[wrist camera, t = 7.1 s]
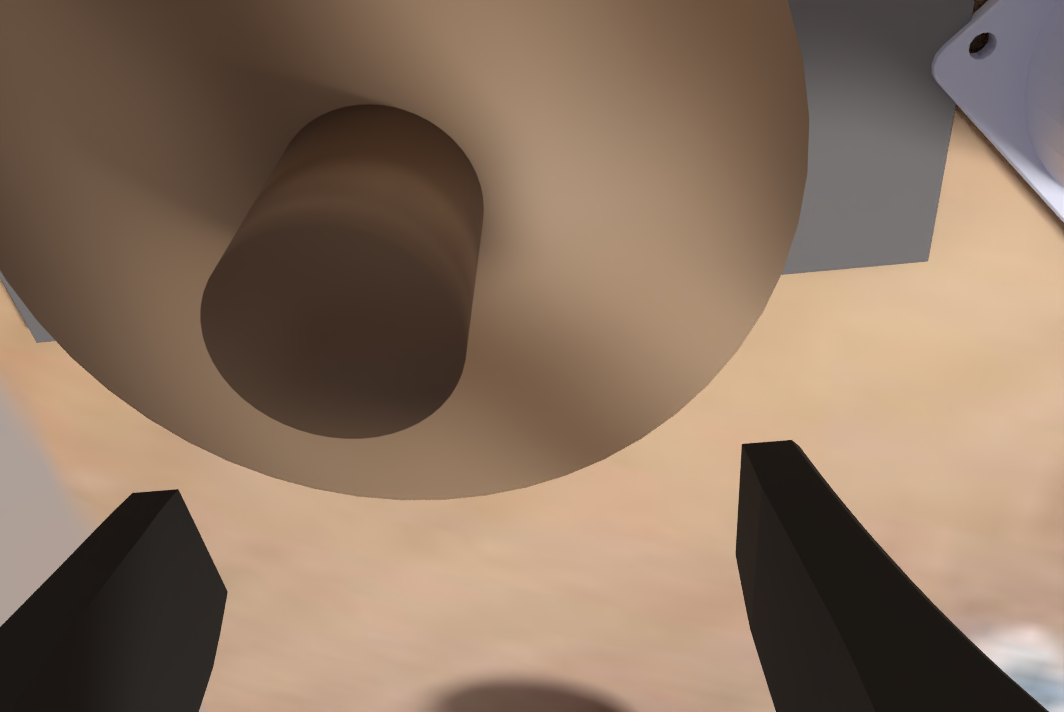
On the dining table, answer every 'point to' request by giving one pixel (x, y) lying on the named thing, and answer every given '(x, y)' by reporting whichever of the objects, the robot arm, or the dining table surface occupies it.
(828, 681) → the robot arm
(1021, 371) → the dining table surface
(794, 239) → the placemat
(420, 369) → the lid
